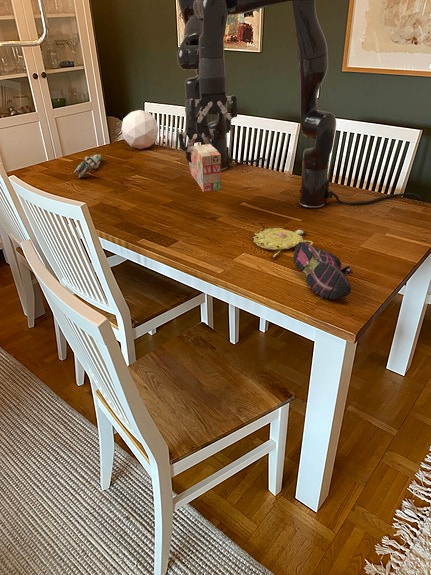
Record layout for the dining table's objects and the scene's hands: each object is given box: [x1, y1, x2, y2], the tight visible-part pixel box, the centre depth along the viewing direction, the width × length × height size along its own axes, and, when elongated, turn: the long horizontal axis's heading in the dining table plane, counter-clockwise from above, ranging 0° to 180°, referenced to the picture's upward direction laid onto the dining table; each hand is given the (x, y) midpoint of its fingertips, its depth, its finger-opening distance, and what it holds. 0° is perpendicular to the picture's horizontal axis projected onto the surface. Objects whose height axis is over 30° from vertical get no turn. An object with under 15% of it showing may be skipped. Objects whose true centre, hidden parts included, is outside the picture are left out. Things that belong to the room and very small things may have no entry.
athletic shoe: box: [292, 242, 354, 300], centre depth 118 cm, size 11×22×12 cm
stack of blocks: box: [188, 144, 222, 193], centre depth 153 cm, size 21×6×12 cm, turn 16°
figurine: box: [73, 154, 103, 179], centre depth 208 cm, size 7×8×30 cm
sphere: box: [121, 109, 159, 150], centre depth 235 cm, size 19×20×20 cm
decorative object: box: [252, 227, 314, 259], centre depth 140 cm, size 21×2×20 cm
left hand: (199, 160), depth 159 cm, fingers closed on stack of blocks, 6 cm apart
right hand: (213, 133), depth 134 cm, fingers open, 8 cm apart
